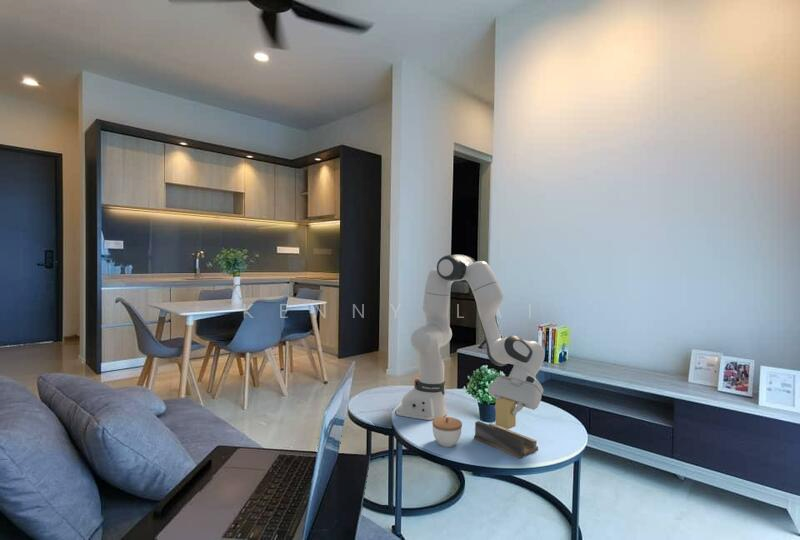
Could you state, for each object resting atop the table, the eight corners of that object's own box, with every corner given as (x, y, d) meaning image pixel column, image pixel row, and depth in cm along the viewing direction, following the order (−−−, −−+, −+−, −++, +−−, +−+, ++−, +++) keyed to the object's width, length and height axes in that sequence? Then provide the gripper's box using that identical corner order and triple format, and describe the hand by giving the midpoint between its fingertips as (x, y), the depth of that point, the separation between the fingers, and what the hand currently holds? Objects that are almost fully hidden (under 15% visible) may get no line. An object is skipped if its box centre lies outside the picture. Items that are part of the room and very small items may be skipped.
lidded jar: (455, 452, 141) (455, 425, 141) (427, 445, 146) (427, 419, 146) (465, 440, 150) (466, 415, 150) (439, 434, 155) (439, 410, 155)
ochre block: (502, 421, 151) (503, 397, 151) (515, 426, 147) (515, 401, 147) (495, 424, 148) (495, 400, 148) (508, 429, 144) (508, 404, 144)
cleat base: (492, 431, 159) (492, 415, 159) (538, 449, 144) (538, 432, 144) (474, 438, 152) (474, 422, 152) (519, 458, 137) (520, 441, 137)
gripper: (494, 369, 160) (478, 399, 154) (541, 381, 144) (525, 414, 138) (501, 378, 163) (485, 408, 157) (547, 391, 147) (532, 424, 141)
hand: (504, 411), depth 147 cm, fingers closed on ochre block, 5 cm apart
